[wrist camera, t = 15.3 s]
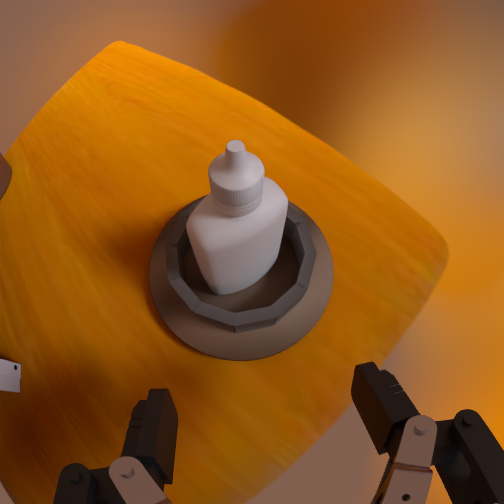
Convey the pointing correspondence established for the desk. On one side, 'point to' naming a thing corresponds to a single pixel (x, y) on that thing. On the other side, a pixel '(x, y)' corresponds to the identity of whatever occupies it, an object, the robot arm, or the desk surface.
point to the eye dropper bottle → (237, 222)
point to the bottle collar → (243, 292)
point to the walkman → (10, 376)
